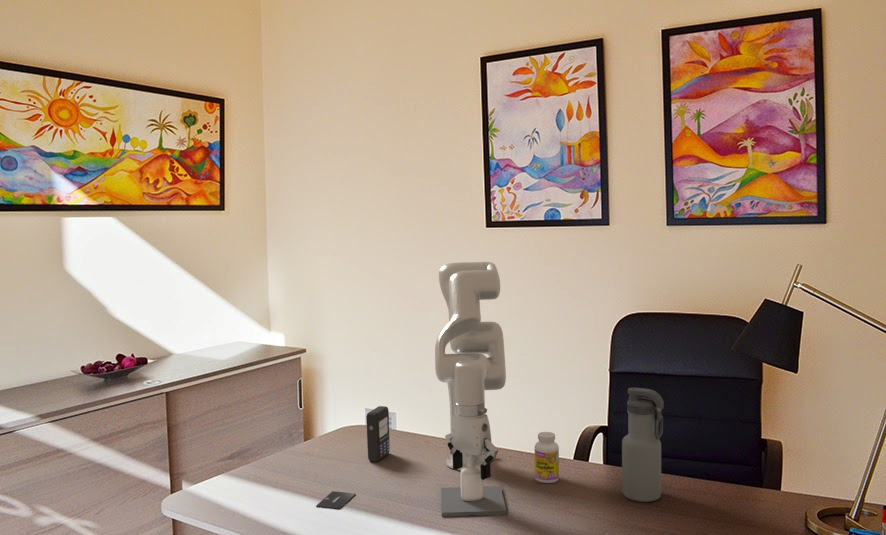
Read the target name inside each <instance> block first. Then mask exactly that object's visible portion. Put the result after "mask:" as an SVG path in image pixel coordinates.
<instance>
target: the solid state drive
mask: <svg viewBox="0 0 886 535" xmlns="http://www.w3.org/2000/svg"><path fill="white" fill-rule="evenodd" d="M355 496H356V492H355V493H354V492H343V491H334V490H332V491H331V492H330V493H329V494H328V495H326V496H325V497H324V498H323V499H322V500H321V501H320V502H318V503H317V504H316V505H315V507H316V508H320V507H321V509H331V510H341V508H342V507H343V506H344V505H345V504H346V505H347V504H348V503H349V502H350V501H351V500H352V499H353V498H354V497H355ZM349 500H350V501H349ZM347 502H348V503H347ZM346 505H345V506H346ZM343 508H344V507H343ZM343 508H342V509H343Z"/></svg>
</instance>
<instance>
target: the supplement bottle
mask: <svg viewBox="0 0 886 535" xmlns="http://www.w3.org/2000/svg"><path fill="white" fill-rule="evenodd" d="M537 439H538V441H537V442H536V443H535V444H534V478H535V480H536V481H537V482H539V483H542V484H553V483H556V482H557V481H559V479H560V478H559V477H560V458H559V457H560V453H559V452H560V449H559V448H560V446H559V445H558V443H557V442H556V433H555V432H551V431H550V432H549V431H541V432H539V433H538V434H537Z"/></svg>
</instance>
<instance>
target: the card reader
mask: <svg viewBox="0 0 886 535" xmlns="http://www.w3.org/2000/svg"><path fill="white" fill-rule="evenodd" d="M389 415H390V412H389V407H387V406H383V405H378V406H377V407H376V408H374V409H372V410H371V411H369V412H367V414H366V416H365V417H366V442H367V443H366V444H367V445H366V446H367V459H368V461H370V462H379V461H381V459H383V458H385V457H386V456H387V455H388V454H390V449H391V448H390V416H389Z"/></svg>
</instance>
